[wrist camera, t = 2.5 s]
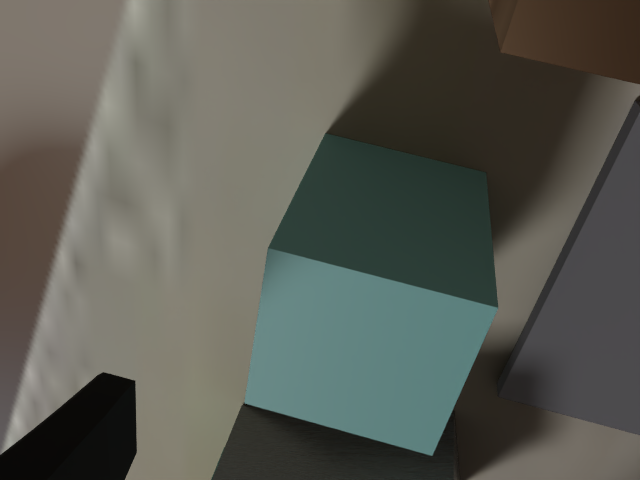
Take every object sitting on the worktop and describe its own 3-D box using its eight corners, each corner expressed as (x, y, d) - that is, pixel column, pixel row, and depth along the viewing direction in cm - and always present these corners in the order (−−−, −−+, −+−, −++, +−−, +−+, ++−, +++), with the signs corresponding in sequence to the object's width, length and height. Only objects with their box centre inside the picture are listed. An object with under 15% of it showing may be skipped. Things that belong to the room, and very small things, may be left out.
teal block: (486, 171, 16) (498, 308, 11) (439, 298, 19) (432, 455, 14) (325, 132, 16) (267, 247, 12) (300, 262, 19) (244, 403, 14)
